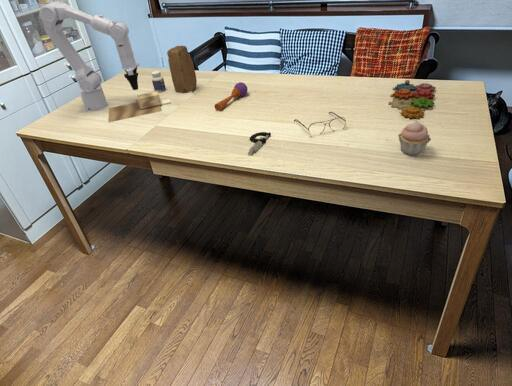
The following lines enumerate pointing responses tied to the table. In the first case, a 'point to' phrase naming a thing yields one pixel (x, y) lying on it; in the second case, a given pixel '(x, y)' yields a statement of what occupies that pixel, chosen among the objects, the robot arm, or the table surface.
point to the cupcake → (414, 138)
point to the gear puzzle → (413, 99)
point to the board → (129, 111)
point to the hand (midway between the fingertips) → (135, 86)
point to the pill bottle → (158, 82)
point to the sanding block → (149, 100)
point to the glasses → (323, 121)
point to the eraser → (165, 102)
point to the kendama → (232, 95)
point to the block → (182, 69)
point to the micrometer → (258, 141)
